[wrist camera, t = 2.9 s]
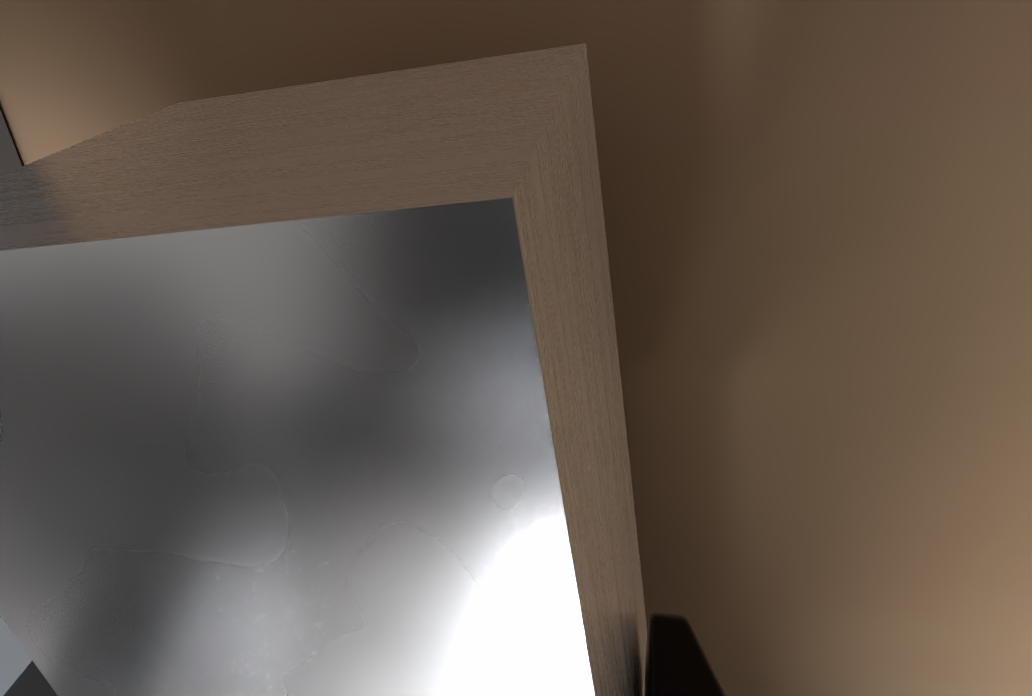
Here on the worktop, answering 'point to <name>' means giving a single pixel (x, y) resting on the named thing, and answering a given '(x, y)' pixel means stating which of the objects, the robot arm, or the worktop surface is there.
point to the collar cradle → (3, 661)
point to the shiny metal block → (322, 396)
